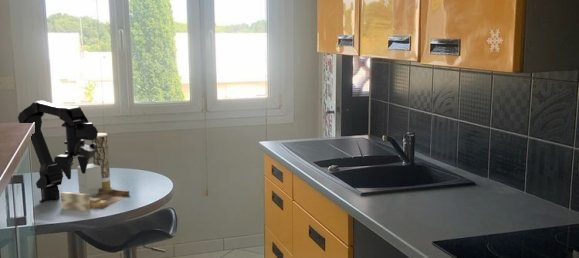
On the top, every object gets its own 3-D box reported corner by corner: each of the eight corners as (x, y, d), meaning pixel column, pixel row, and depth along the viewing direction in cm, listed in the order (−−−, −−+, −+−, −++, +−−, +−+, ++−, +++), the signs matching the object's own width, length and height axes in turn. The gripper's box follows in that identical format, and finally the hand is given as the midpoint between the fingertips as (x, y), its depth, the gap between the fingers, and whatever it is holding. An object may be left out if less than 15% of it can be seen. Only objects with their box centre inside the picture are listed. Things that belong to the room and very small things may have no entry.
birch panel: (61, 209, 235) (60, 192, 234) (64, 208, 236) (63, 191, 235) (87, 212, 231) (86, 195, 230) (90, 211, 233) (89, 194, 232)
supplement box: (103, 193, 257) (101, 165, 255) (87, 197, 252) (85, 168, 250) (94, 190, 262) (92, 163, 260) (78, 194, 257) (76, 166, 255)
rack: (72, 207, 238) (72, 201, 238) (101, 194, 257) (100, 188, 256) (102, 210, 234) (102, 204, 234) (129, 197, 253) (129, 190, 252)
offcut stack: (74, 205, 238) (73, 198, 238) (80, 202, 242) (79, 195, 242) (102, 208, 235) (101, 201, 234) (108, 205, 239) (107, 198, 238)
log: (105, 191, 261) (102, 136, 256) (91, 191, 262) (88, 135, 257) (113, 187, 267) (110, 133, 263) (99, 186, 268) (96, 132, 264)
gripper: (76, 144, 224) (79, 183, 227) (105, 135, 242) (107, 172, 245) (51, 142, 228) (54, 181, 230) (81, 133, 245) (84, 170, 248)
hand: (76, 176), depth 238 cm, fingers open, 9 cm apart
